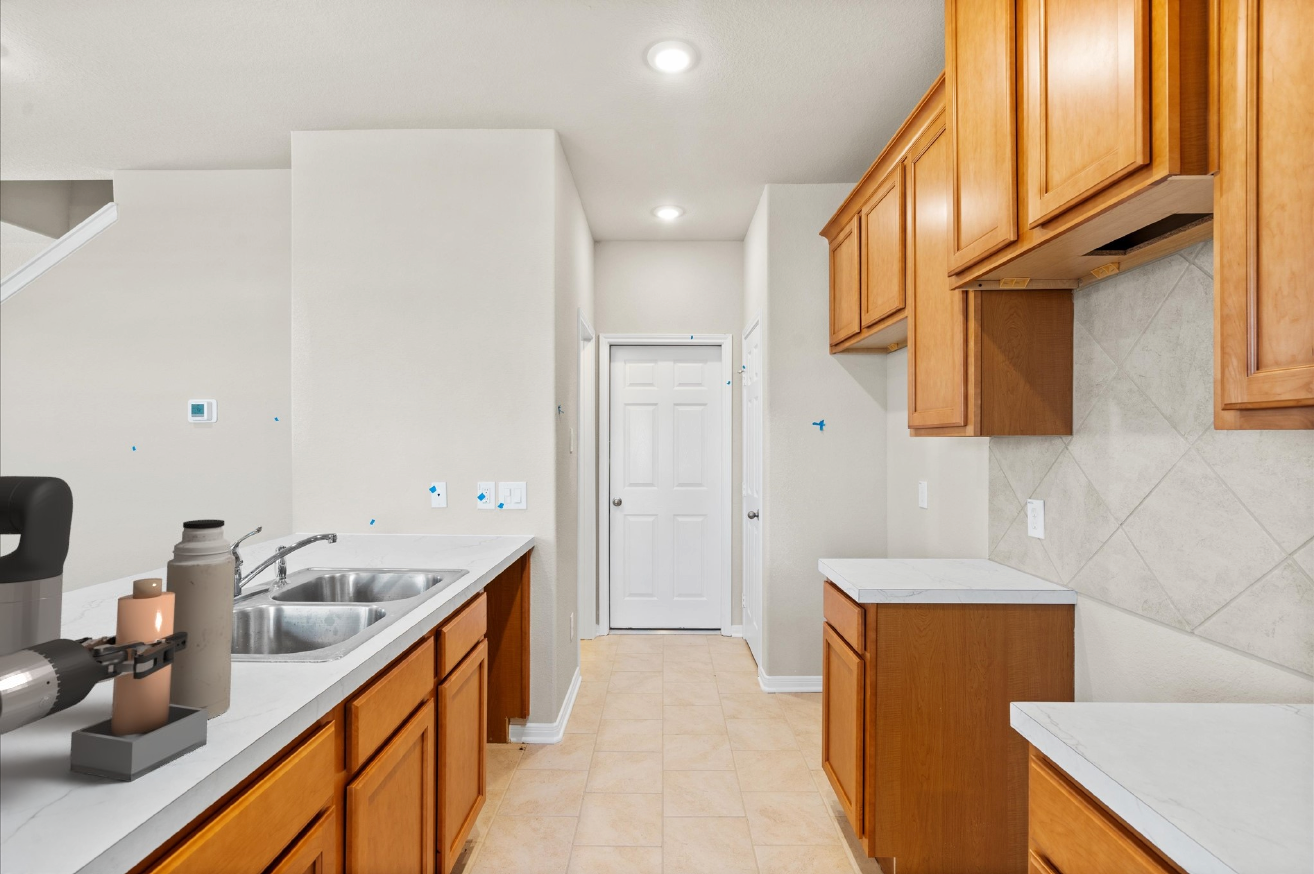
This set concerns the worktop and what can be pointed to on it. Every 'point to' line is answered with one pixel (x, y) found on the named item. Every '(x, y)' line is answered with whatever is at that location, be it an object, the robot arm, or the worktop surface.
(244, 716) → the worktop surface
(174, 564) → the thermos bottle
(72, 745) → the bin
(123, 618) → the oil bottle
